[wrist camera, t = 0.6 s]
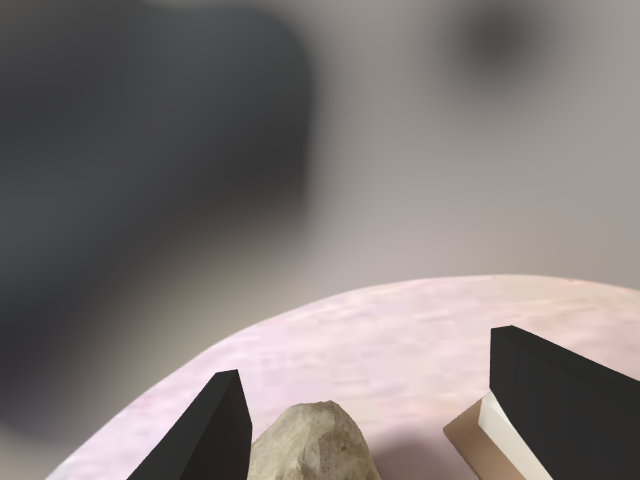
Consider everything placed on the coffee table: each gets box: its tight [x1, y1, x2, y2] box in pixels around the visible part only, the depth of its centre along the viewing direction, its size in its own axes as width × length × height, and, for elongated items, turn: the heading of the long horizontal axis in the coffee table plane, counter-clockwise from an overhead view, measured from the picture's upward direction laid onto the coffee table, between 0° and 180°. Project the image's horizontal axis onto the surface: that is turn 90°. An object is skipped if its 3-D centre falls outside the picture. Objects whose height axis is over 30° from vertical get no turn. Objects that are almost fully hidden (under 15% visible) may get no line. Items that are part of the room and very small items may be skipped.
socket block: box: [478, 391, 553, 480], centre depth 18 cm, size 6×5×5 cm
